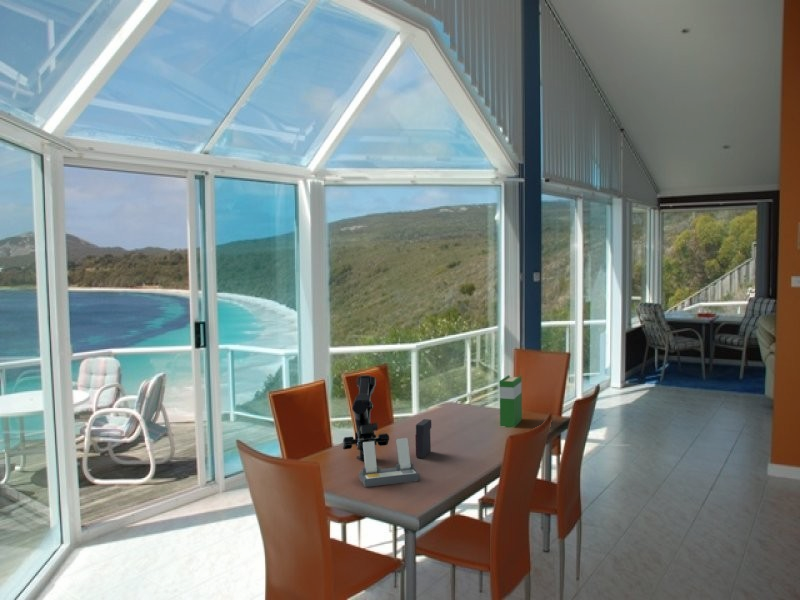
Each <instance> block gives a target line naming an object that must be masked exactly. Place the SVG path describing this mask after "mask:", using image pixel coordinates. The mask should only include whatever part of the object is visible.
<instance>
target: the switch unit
mask: <svg viewBox="0 0 800 600" xmlns="http://www.w3.org/2000/svg"><path fill="white" fill-rule="evenodd" d="M410 464H411V468H408V469H399V463H396V464H395V467H388V468H386V467H385V468H381V467H380V465H377V472H372V473H365V467H362V468H361V471H358V472H359V474H358V475H359V480H360V482H361V484H362V483H363V484H362V485H363V487H364V488H370V487H378V486H385V485H393V484H402V483H409V482H418V481H420V473H419V472H418V471H417V469H415V468H414V465H415V464H414V462H413V461H410Z"/></svg>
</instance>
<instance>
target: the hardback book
mask: <svg viewBox="0 0 800 600" xmlns="http://www.w3.org/2000/svg"><path fill="white" fill-rule="evenodd" d="M522 383H523V382H522V375H519V376H511V375H509V374H508V375H507V376H505V377H503V378H501V379H500V380H499V422H500V423H499V426H506V427H505V428H511V427H514V428H516V427H517V426H518V424H520V423H521V421H523V409H522V408H523V401H522V400H523V398H522V397H523V396H522V390H523V389H522V386H523V385H522Z"/></svg>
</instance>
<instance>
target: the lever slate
mask: <svg viewBox="0 0 800 600" xmlns="http://www.w3.org/2000/svg"><path fill="white" fill-rule="evenodd" d="M395 441H396V451H397V460H398V464H399V469H408V468H411V464H410V463H411V457H410V451H409V450H410V448H409V441H408V437H401V438H395Z"/></svg>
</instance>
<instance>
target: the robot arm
mask: <svg viewBox="0 0 800 600" xmlns="http://www.w3.org/2000/svg"><path fill="white" fill-rule="evenodd" d="M356 386H357V387H358V390H359V391H358V394H357V395H356V396H355V399H354V401H352V402H353V404H352V409H351V410H352V411H353V416H354V422H355V428H356V432H355V434H354V435H355V437H354V436H345V437H343V439H342V449H343V450H351V449H352V448H353V446H354V445H355V447H356V449H357V450H358V451H359V453H358V454H359V455H358V456H356V459H358V460H360V461H361V462H364V451H363V442H371V441H374V444H375V446H377V445H378V446H380V447H382V446H388V444H389V441H390V435H389V433H387V432H385V433H378V436H377V434H375V432H376V431H378V430H379V429H378V428H379V427H378V423H377V422H372V423H371V411H372V409H373V407H374V403H373V402H372V400H371V398H372V394H374V392H375V387H376V386H377V383H376V377H374V376H373V375H372V376H371V375H368V374H367V375H366V374H365V375H359V377H357V378H356ZM354 438H355V439H354Z"/></svg>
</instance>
